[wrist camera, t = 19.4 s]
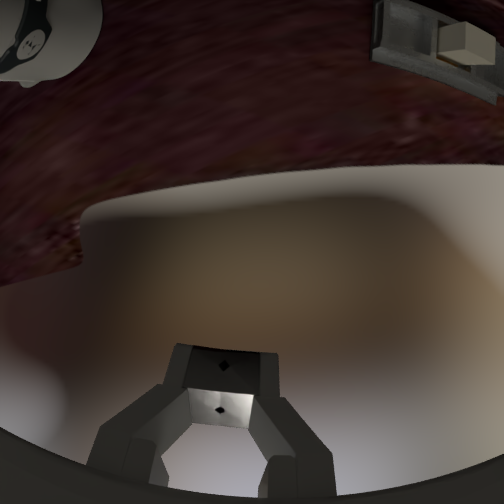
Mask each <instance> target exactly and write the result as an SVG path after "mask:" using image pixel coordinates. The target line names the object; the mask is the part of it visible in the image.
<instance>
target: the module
mask: <svg viewBox="0 0 504 504" xmlns="http://www.w3.org/2000/svg"><path fill="white" fill-rule="evenodd" d="M495 46H496V38H495V37H494V36H492V35H490V34H488V33H487V32H485V31H483V30H481V29H479V28H477V27H476V26H474V25H472V24H470V23H468V22H466V21H465V22H461V23H456V24H452V25H448V26H445V27H441V28H438V29H437V51H436V56H437V57H439V58H442V59H444V60H447V61H449V62H452V63H454V64H456V65H495Z"/></svg>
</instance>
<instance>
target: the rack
mask: <svg viewBox="0 0 504 504" xmlns="http://www.w3.org/2000/svg"><path fill="white" fill-rule="evenodd" d="M456 23H461V22H459V21H457V20H455V19H453V18H450V17H448V16H446V15H444V14H442V13H439V12H437V11H435V10H432V9H430V8H427V7H425V6H422V5H420V4H417V3H414V2H412V1H409V0H373V20H372V35H371V48H370V60H369V61H371V62H375V63H379V64H383V65H387V66H390V67H394V68H397V69H401V70H404V71H407V72H410V73H414V74H417V75H420V76H423V77H426V78H429V79H431V80H434V81H437V82H440V83H442V84H445V85H448V86H450V87H453V88H455V89H458V90H460V91H463V92H465V93H467V94H470V95H472V96H474V97H476V98H479V99H481V100H483V101H485V102H487V103H489V104H492V105H496V99H497V96H500V97H504V48H503V47H501V46H500V43H498V42H496V46H495V65H456V64H454V63H452V62H449V61H447V60H444V59H442V58H439V57H437V56H436V51H437V29H438V28H441V27H445V26H448V25H452V24H456Z"/></svg>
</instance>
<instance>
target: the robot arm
mask: <svg viewBox="0 0 504 504" xmlns="http://www.w3.org/2000/svg"><path fill="white" fill-rule="evenodd" d="M102 16H103V13H102V5H101V0H0V81H19V82H20V84H21V85H22V86H23V87H28V88H29V87H32V86H34V85H35V84H37V83H38V82H40V81H42V80H52V79H57V78H60V77H62V76H65V75H66V74H68V73H70V72H71V71H73V70H74V69H75V68H76V67H77V66H79V65H80V64H81V63H82V61H83V60H84V59H85V58H86V57H87V55H88V54H89V53H90V51H91V49H92V48H93V46H94V44H95V42H96V40H97V38H98V35H99V32H100V29H101V24H102ZM278 362H279V361H278V354H277V353H265V352H252V351H239V350H224V349H217V348H209V347H202V346H195V345H187V344H181V343H177V344H176V345H175V346H174V349H173V352H172V356H171V359H170V362H169V365H168V369H167V372H166V376H165V379H164V382H163V385H161V384H157V385H156V386H154V387H153V388H152V389H151V390H149V391H148V392H146V393H145V394H144V395H143V396H141V397H140V398H138V399H137V400H136V401H134V402H133V403H132V404H130V405H129V406H128V407H126V408H125V409H124V410H122V411H121V412H119V413H118V414H117V415H115V416H114V417H113V418H111V419H110V420H109V421H107V422H106V423H104V424H103V425H101V426H100V428H99V431H98V434H97V436H96V439H95V441H94V444H93V447H92V450H91V453H90V455H89V458H88V461H87V464H86V465H84V464H81V463H78V462H75V461H72V460H70V459H67V458H65V457H62V456H60V455H57V454H55V453H53V452H50V451H48V450H46V449H43V448H41V447H39V446H37V445H35V444H32V443H30V442H28V441H26V440H24V439H22V438H20V437H18V436H16V435H14V434H12V433H10V432H8V431H7V430H5V429H3V428H1V427H0V504H504V454H502V455H500V456H497V457H495V458H492V459H490V460H487V461H485V462H482V463H480V464H477V465H474V466H471V467H468V468H465V469H463V470H460V471H457V472H453V473H450V474H447V475H443V476H440V477H437V478H433V479H429V480H425V481H421V482H417V483H413V484H408V485H404V486H400V487H394V488H389V489H383V490H377V491H371V492H365V493H357V494H349V495H339V496H337V492H336V482H335V473H334V464H333V455H332V453H331V452H330V451H329V449H328V448H327V447H326V446H325V445H324V444H323V442H322V441H321V440H320V439H319V438H318V437H317V436H316V435H315V433H314V432H313V431H312V430H311V428H310V427H309V426H308V425H307V424H306V423H305V421H304V420H303V419H302V418H301V417H300V415H299V414H298V413H297V412H296V411H295V409H294V408H293V407H292V406H291V404H290V403H289V402H288V401H287V400H286V398H284V397H280V389H279V363H278ZM192 423H199V424H209V425H220V426H227V427H236V428H246V429H248V431H249V432H250V434H251V436H252V437H253V439H254V441H255V442H256V444H257V445H258V447H259V449H260V451H261V452H262V454H263V455H264V457H265V459H266V460H267V461H268V463H267V466H266V468H265V471H264V474H263V477H262V479H261V482H260V485H259V488H258V498H252V497H236V496H225V495H215V494H207V493H199V492H192V491H186V490H180V489H174V488H168V487H167V486H168V481H169V475H168V473H167V471H166V468H165V466H164V463H163V461H162V458H161V455H162V454H163V453H164V452H165V451H166V450H167V449H168V448H169V447H170V446H171V445H172V444H173V443H174V442H175V441H176V440H177V439H178V438H179V437H180V436H181V435H182V434H183V433H184V432H185V431H186V430H187V429H188V428H189V426H191V425H192Z"/></svg>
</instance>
